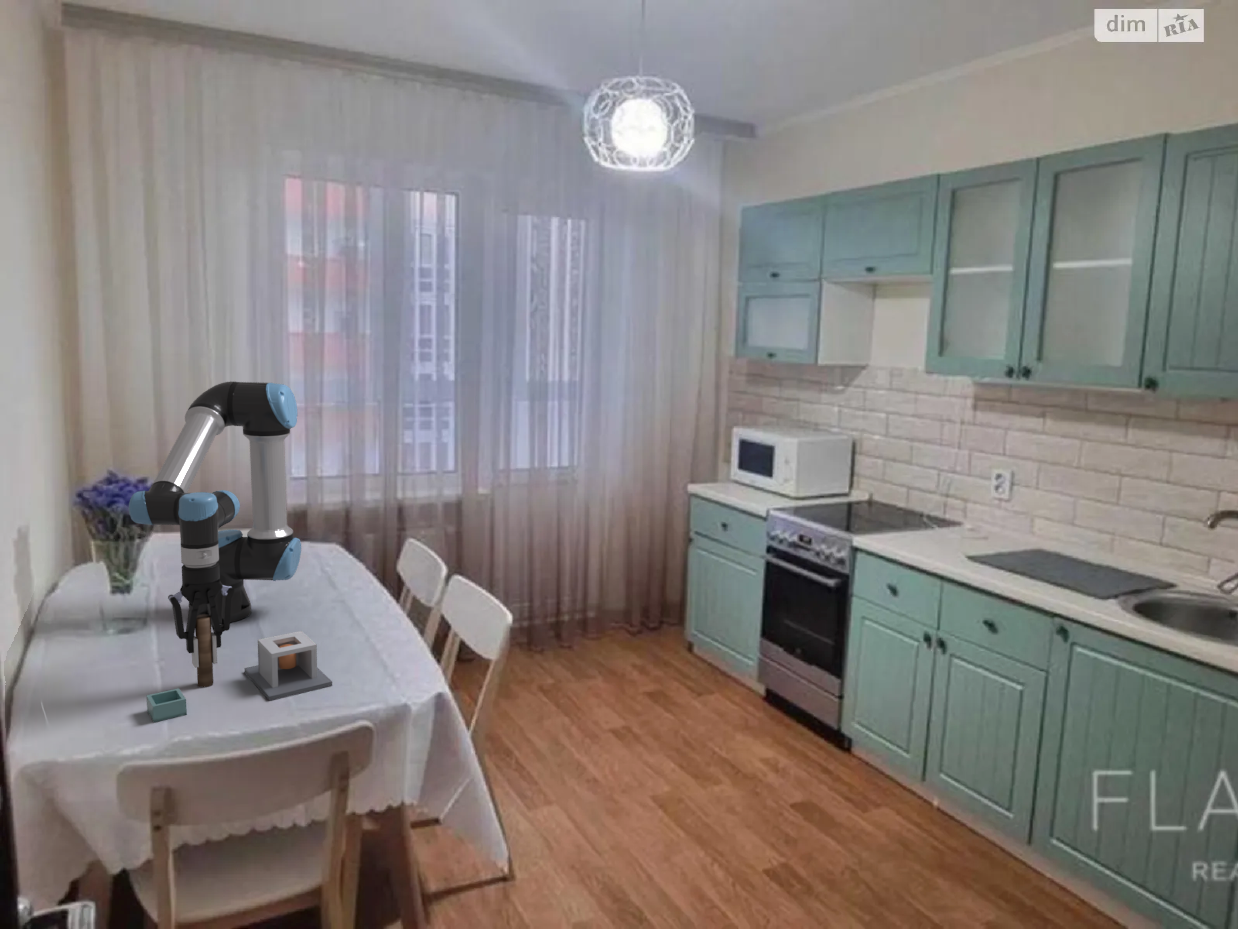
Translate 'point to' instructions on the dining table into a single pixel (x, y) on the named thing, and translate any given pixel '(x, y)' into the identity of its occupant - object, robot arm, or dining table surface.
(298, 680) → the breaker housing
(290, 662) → the button
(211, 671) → the brown wooden rod
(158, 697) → the box
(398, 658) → the dining table surface
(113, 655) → the dining table surface
